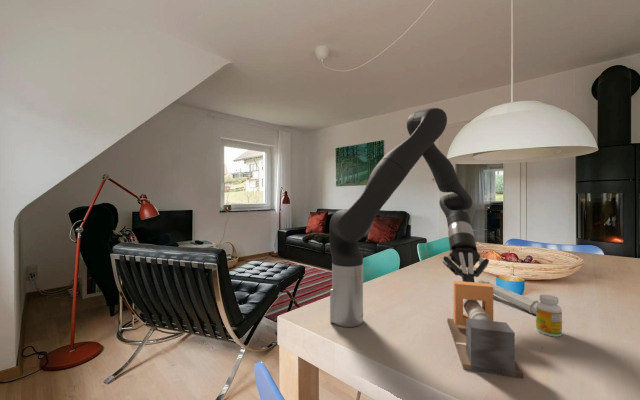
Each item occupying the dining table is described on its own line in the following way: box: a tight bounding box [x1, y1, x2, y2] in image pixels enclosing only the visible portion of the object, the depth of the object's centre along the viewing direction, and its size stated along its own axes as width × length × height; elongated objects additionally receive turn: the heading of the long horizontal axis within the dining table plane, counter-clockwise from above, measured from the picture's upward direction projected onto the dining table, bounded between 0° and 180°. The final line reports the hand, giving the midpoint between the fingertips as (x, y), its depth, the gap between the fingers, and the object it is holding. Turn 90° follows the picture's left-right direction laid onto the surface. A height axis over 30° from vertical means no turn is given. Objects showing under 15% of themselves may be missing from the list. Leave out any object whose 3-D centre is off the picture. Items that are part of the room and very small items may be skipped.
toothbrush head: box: [476, 277, 540, 316], centre depth 97 cm, size 5×7×25 cm
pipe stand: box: [447, 299, 524, 379], centre depth 69 cm, size 11×24×9 cm, turn 163°
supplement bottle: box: [535, 293, 563, 338], centre depth 76 cm, size 5×5×10 cm
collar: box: [453, 280, 494, 326], centre depth 75 cm, size 9×3×11 cm, turn 73°
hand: (469, 288), depth 78 cm, fingers closed
